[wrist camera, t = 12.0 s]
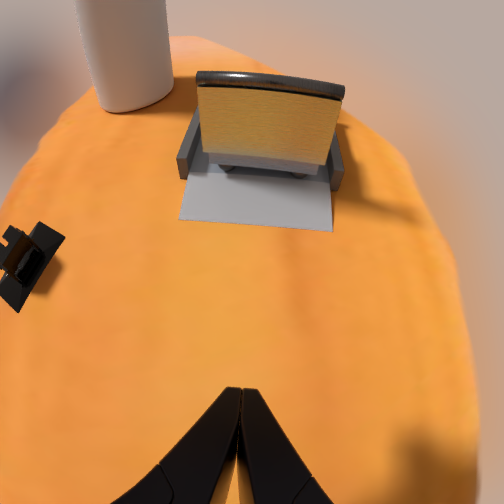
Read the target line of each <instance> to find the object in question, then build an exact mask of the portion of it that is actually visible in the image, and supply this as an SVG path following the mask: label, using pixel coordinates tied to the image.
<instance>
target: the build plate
mask: <svg viewBox="0 0 504 504" xmlns="http://www.w3.org/2000/svg"><path fill="white" fill-rule="evenodd" d="M2 237H3V238H4V239H5V240H6V241H7V242H8V245H7V246H6V247H5V246H4V245H3V244H1V243H0V269H1V270H2V269H3V270H4V271H5V273H4V275H3V277H2V279H1V280H0V296H1V297H2V298H3V299H4V300H5V301H6V302H7V303H8V304H9V305H10V306H11V307H12V308H13V309H14V310H15V311H16V312H17V313H19V312H20V310H21V308H22V306H23V305H24V303H25V301H26V299H27V297H28V296H29V294H30V292H31V291H32V289H33V287H34V285H35V284H36V282H37V280H38V279H39V277H40V276H41V274H42V272H43V271H44V269H45V268H46V266H47V264H48V263H49V261H50V260H51V258H52V257H53V255H54V254H55V252H56V251H57V249H58V248H59V247H60V245H61V244H62V242H63V241H64V239H65V236H63V235H62V234H60V233H58V232H57V231H55V230H53V229H52V228H50V227H48V226H47V225H45V224H43V223H42V222H40V221H39V222H38V223H37V224H36V226H35V227H34V229H33V230H32V231H31V233H30V234H29V236H28V235H26V234H25V232H24V231H23V230H22V231H21V230H19V229H18V228H15V227H13V226H12V225H10V226H9V227H8V229H7V230H6V232H5V233H4V235H3V236H2Z"/></svg>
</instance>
